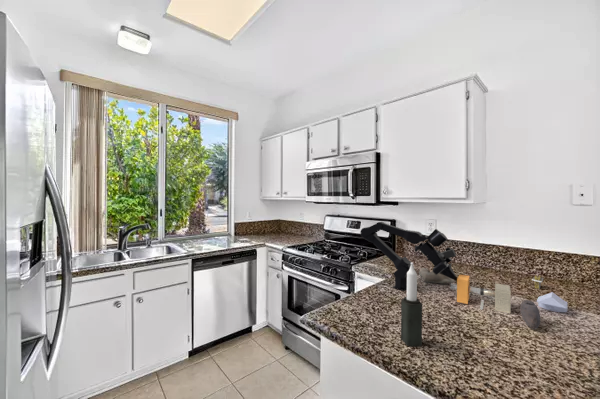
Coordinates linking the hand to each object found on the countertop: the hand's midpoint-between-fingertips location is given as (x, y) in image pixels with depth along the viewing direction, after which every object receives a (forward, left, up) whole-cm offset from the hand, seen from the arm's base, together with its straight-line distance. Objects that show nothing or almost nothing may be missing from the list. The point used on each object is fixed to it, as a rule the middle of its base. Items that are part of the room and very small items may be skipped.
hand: (457, 280), depth 121 cm
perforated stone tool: (-2, -27, -9) cm, 28 cm away
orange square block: (+1, -2, -9) cm, 9 cm away
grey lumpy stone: (+18, +20, -9) cm, 28 cm away
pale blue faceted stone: (+24, -27, -9) cm, 37 cm away
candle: (-51, -11, -9) cm, 53 cm away
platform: (+56, -14, -9) cm, 59 cm away
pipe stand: (+3, -8, -9) cm, 12 cm away
